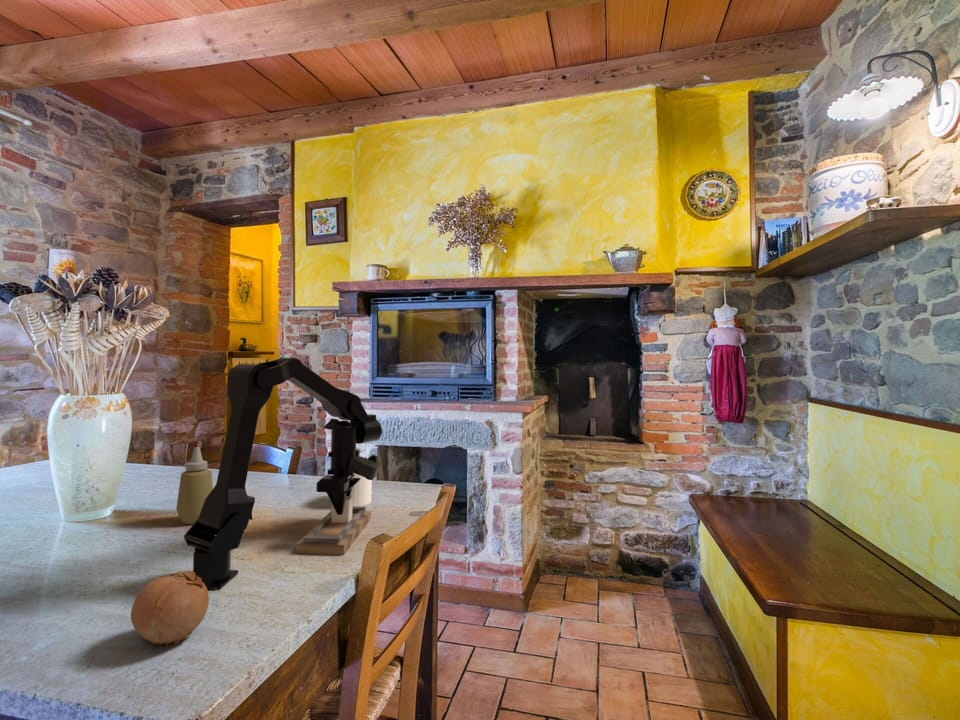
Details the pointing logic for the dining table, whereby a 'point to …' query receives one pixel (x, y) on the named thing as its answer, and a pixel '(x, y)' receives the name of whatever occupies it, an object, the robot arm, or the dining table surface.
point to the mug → (362, 492)
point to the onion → (170, 607)
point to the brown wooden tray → (334, 534)
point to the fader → (346, 514)
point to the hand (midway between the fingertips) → (342, 512)
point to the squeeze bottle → (193, 488)
